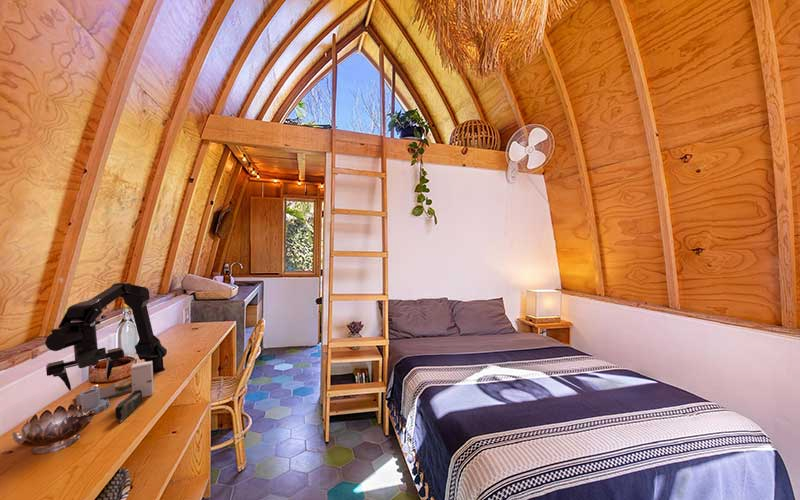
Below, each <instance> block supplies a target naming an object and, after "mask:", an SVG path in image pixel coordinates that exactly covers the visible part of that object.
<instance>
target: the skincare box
mask: <svg viewBox="0 0 800 500" xmlns="http://www.w3.org/2000/svg"><path fill="white" fill-rule="evenodd" d="M130 376H131V377H130V379H131V381H132V392H131V394H132V393H133V392H134V391H136V390H141V391H142V398H146V397H151V396H153V394H154V391H155V388H154V385H155V384H154V373H153V365H152V361H147V362H144V361H142V362H138V363H132V365H131V367H130Z"/></svg>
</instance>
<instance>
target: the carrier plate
mask: <svg viewBox="0 0 800 500" xmlns="http://www.w3.org/2000/svg"><path fill="white" fill-rule="evenodd" d="M96 388H98V389H100V400H101V399H104V400H107V399H108V400H110V399H113V398H116V397H118V396H123V395H125V394H128V393H132V381H131V378H123V379H120V380H118V381H116V382H114V384H110V385H108V386H103V387H99V384H93V385H91V386H90V389H96ZM80 394H81V393H79V394H76V395H75V401H76V402H75V403H76V405H77V406H80V405H81V402H80ZM77 406H76V407H77Z"/></svg>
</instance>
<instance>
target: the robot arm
mask: <svg viewBox="0 0 800 500" xmlns="http://www.w3.org/2000/svg"><path fill="white" fill-rule="evenodd" d="M119 298H122V299H123V301H124V304H125V305H126V306H127V307H129V308H130V309H131V311H132V316H133V319H134V325H135V327H136V331H137V337H138V341H137V344H135V346H134V349H135V354H136V355H137V357H138V359H139V361H142V360H143V362H147V361H152V365H153V374H155V373H158V372H161V371H165V370H166V369H165V367H164V357H166V355H167V351H168V350H167V349H166V347H164V346H163V344H162V343H161V340H160V338H158V337H156V335H155V334H154V332H153V331H154V330H153V327H152V323H151V318H150V315H149V310H148V307H147V305H148V303H149V301H150V290H149V289H148V287H146V286H140V285H136V284H132V283H129V282H116V283H113V284H111V286H110V287H108V288H106V289H105V290H103V291H102V292H100V293H98V294H97V295H95V296H94V297H92V298H91V299H88V300H84V301H81V302H77V303H75V304H73V305H70V306H69V307H68V308H66V312H65V314H63V317H62V319H61V321H60V323H59V324H58V328H54V329H53V328H52V329H51V333H50V334H49V335H48V336H47V337H46V340H45V346H46V348H47V349H48V350H50V351H51V352H52V351H53V352H58V351H61V350H65V349H66V348H70V347H72V346H73V352H74V360H71V361H66V362H65V361H64V360H58V361H52V362H49V363H47V364H46V368H45V370H46V376H47V377H50V376H52V377H53V378H55V377H58V378H60V380H61V381H62V382H63V383H64V384H65V386H66V388H67V389H68V391H69V392H70V391H72V387H71V386H72V384H71V382H70V378H69V375H68V372H67V370H66V369H68V368H72V367H76V366H78V368H79V369H85V368H86V367H91V366H97V365H98V364H100V363H99V362H100V361H101V360H106V369H105V378H106V381H108V380H109V379H110V377H111V373H112V370H113V367H114V366H115V364H116V363H117V362H119V361H120V359H123V358H125V352H124V351H125V350H124V349H122V348H121V347H116V348H111V349H108V350H106V349H107V348H106V347H102V348H101V347H100V348H98V337H97V325H100V324H101V321H99V320H98V319H97V318H98V317H99V316H101V314H102V313H103V309H104V308H105V307H107V306H108V305H110V304H111V303H112V302H114V301H116V300H117V299H119Z"/></svg>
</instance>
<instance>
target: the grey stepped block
mask: <svg viewBox="0 0 800 500" xmlns="http://www.w3.org/2000/svg"><path fill="white" fill-rule="evenodd" d="M79 394H80V402H81V406H82V407H83V412H84V413H87V412H88V411H90V410H93V412H94V414H99V413H100V412H101V411H104V410H107V407H110V406H111V405H110V399H106V400H104V399H101V400H100V388H99V389H98V388H96V389H91V388H90V389H88V390H85V391H82V392H81V393H79Z"/></svg>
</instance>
